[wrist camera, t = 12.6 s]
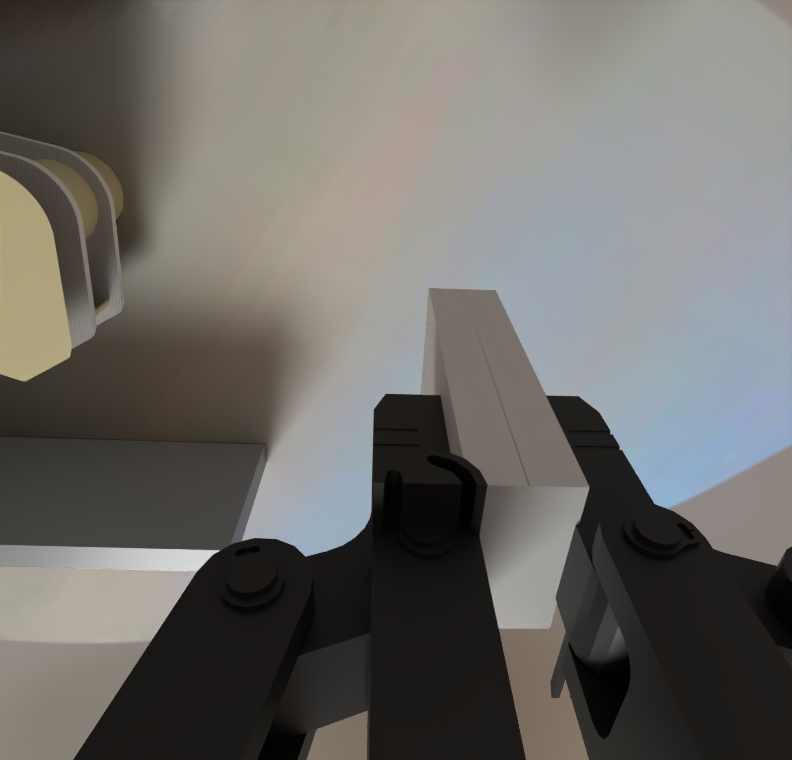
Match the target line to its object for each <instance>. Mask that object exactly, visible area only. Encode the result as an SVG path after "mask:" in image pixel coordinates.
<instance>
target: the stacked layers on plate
mask: <svg viewBox="0 0 792 760" xmlns="http://www.w3.org/2000/svg"><path fill="white" fill-rule="evenodd" d="M123 204H124V197H123V191H122V187H121V184H120V182H119V180H118V178H117V176H116V175H115V173H114V172H113V171H112V170H111V168H110V167H109V166H108V165H107V164H105V163H104V162H103V161H102V160H100V159H99V158H97V157H95V156H93V155H91V154H89V153H85V152H81V151H71V150H69V149H66V148H64V147H60V146H57V145H53V144H49V143H45V142H41V141H37V140H33V139H29V138H25V137H21V136H17V135H13V134H9V133H5V132H1V131H0V374H2V375H5V376H8V377H11V378H14V379H17V380H20V381H27V380H29V379H31V378H33V377H35V376H37V375H38V374H40V373H42V372H44V371H46V370H48V369H50V368H51V367H53V366H55V365H57V364H59V363H61V362H63V361H64V360H66V359H68V358H69V357H70V354H71V349H73V348H75V347H77V346H78V345H80V344H82V343H84V342H86V341H88V340H89V339H91V338H92V337H93V336H94V335H95V331H96V326H97V325H99V324H100V323H102V322H104V321H106V320H108V319H110V318H111V317H113V316H115V315H117V314H118V313H120V312H121V311H122V309H123V305H124V291H123V282H122V272H121V263H120V254H119V245H118V236H117V227H116V220H117V219H118V218H119V216H120V214H121V212H122V209H123Z"/></svg>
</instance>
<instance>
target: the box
mask: <svg viewBox="0 0 792 760" xmlns="http://www.w3.org/2000/svg"><path fill="white" fill-rule="evenodd" d="M265 466H266V456H265V444H232V443H199V442H166V441H133V440H100V439H67V438H33V437H0V567H40V568H81V569H122V570H163V571H198V570H199V569H200V568H201V567H202V566H203V565H204V564H205V562H206V561H207V560H208V559H209V558H210V557H211V556H212V555H213V554H215V553H217V552H219V551H220V550H222V549H224V548H226V547H227V546H229V545H231V544H233V543H237V542H241V541H242V538H243V535H244V532H245V528H246V525H247V522H248V519H249V516H250V513H251V510H252V506H253V503H254V500H255V497H256V494H257V491H258V488H259V484H260V481H261V478H262V475H263V472H264V469H265Z"/></svg>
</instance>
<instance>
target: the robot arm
mask: <svg viewBox="0 0 792 760" xmlns="http://www.w3.org/2000/svg"><path fill="white" fill-rule="evenodd" d="M619 447H620V446H619V445H618V443H617V441H616V440H615V438H614V436H613V435H610V430H609V428H608V426H607V425H606V423H605V421H604V420H603V418H602V416H601V415H600V413H599V412H598V411H597V410H595V409H594V408H593V407H591V406H590V405H589V404H588V403H586V402H585V401H584V400H582V399H581V398H580V397H579V396H546V395H545V393H544V391H543V389H542V387H541V384H540V382H539V380H538V378H537V376H536V374H535V372H534V370H533V368H532V366H531V363H530V361H529V359H528V357H527V355H526V353H525V351H524V349H523V347H522V345H521V343H520V340H519V338H518V336H517V334H516V332H515V330H514V328H513V326H512V324H511V322H510V320H509V317H508V315H507V313H506V311H505V309H504V307H503V305H502V303H501V301H500V299H499V297H498V294H497V292H496V290H468V289H436V288H429V292H428V306H427V319H426V332H425V345H424V358H423V372H422V385H421V395H410V394H385V396H384V397H383V398H382V400H381V401H380V402H379V403H378V405H377V406H376V407H375V409H374V426H373V463H372V511H371V517H370V519H369V521H368V523H367V525H366V526H365V528H364V529H363V530H362V531H361V532H360V533H359V534H358V535H357V536H356V537H355V538H354V539H352V540H351V541H349V542H347V543H346V544H344V545H343V546H340V547H337V548H335V549H332V550H329V551H326V552H322V553H318V554H314V555H311V556H307V557H305V556H304V555H303V554H302V553H301V552H300V551H299V550H298V549H297V548H296V547H295V546H293V545H290V544H287V543H285V542H282V541H280V540H277V539H261V538H253V539H249V540H245V541H241V542H237V543H233V544H231V545H229V546H227V547H226V548H224V549H222V550H220V551H219V552H217V553H215V554H213V555H212V556H211V557H210V558H209V559H208V560H207V561H206V562H205V564H204V565H203V566H202V567H201V568H200V569H199V570H198V571H197V573H196V574H195V576H194V577H193V579H192V580H191V582H190V583H189V585H188V586H187V588H186V589H185V591H184V592H183V594H182V595H181V597H180V598H179V600H178V601H177V603H176V604H175V606H174V608H173V609H172V611H171V612H170V614H169V615H168V617H167V618H166V620H165V621H164V623H163V624H162V626H161V627H160V629H159V630H158V632H157V633H156V635H155V636H154V638H153V639H152V641H151V642H150V644H149V646H148V647H147V649H146V650H145V652H144V653H143V655H142V656H141V658H140V659H139V661H138V662H137V664H136V665H135V667H134V668H133V670H132V671H131V673H130V675H129V676H128V678H127V679H126V681H125V682H124V683H123V685H122V687H121V688H120V690H119V691H118V693H117V694H116V696H115V697H114V699H113V700H112V702H111V703H110V705H109V706H108V708H107V709H106V711H105V712H104V714H103V715H102V717H101V718H100V720H99V721H98V723H97V724H96V726H95V728H94V729H93V731H92V732H91V734H90V735H89V737H88V738H87V740H86V741H85V743H84V744H83V746H82V747H81V749H80V750H79V752H78V753H77V755H76V756H75V758H74V760H306V759H307V756H308V753H309V750H310V747H311V744H312V741H313V738H314V735H315V732H316V729H318V728H321V727H323V726H326V725H329V724H331V723H334V722H337V721H340V720H343V719H345V718H348V717H351V716H354V715H356V714H359V713H362V712H364V711H367V710H368V723H367V760H526V759H525V753H524V749H523V744H522V739H521V734H520V729H519V724H518V720H517V715H516V710H515V706H514V700H513V695H512V691H511V686H510V681H509V676H508V671H507V667H506V662H505V657H504V653H503V647H502V642H501V638H500V633H499V628H534V629H544V628H545V629H547V628H548V629H549V628H550V626H551V622H552V619H553V615H554V612H555V608H556V604H557V605H558V608H559V611H560V614H561V617H562V620H563V623H564V627H565V630H566V633H565V636H564V640H563V643H562V646H561V650H560V653H559V656H558V659H557V663H556V666H555V669H554V672H553V676H552V679H551V697H552V698H559V697H560V694H561V691H562V688H563V685H564V682H565V679H566V682H567V686H568V689H569V692H570V698H571V699H572V702H573V706H574V709H575V713H576V716H577V720H578V723H579V726H580V730H581V734H582V737H583V740H584V744H585V747H586V751H587V754H588V757H589V760H792V547H790V548H788V549H787V550H786V552H785V553H784V555H783V557H782V559H781V561H780V562H779V564H778V566H775V565H771V564H766V563H763V562H758V561H754V560H751V559H747V558H743V557H739V556H735V555H730V554H727V553H723V552H720V551H717V550H714V549H713V548H712V547H711V545H710V544H709V542H708V541H707V539H706V538H705V537H704V536H703V535H702V534H701V533H700V531H699V530H698V529H697V528H696V527H695V526H694V525H693V524H692V523H691V522H689V521H688V520H686V519H685V518H683V517H681V516H680V515H678V514H677V513H675V512H674V511H671V510H668V509H666V508H663V507H661V506H658V505H655V504H654V503H653V501H652V499H651V498H650V496H649V494H648V493H647V491H646V489H645V488H644V486H643V484H642V483H641V481H640V479H639V478H638V476H637V474H636V473H635V471H634V469H633V468H632V466H631V464H630V463H629V461H628V459H627V458H626V456H625V455H624V453H623V451H622V450H619Z"/></svg>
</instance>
